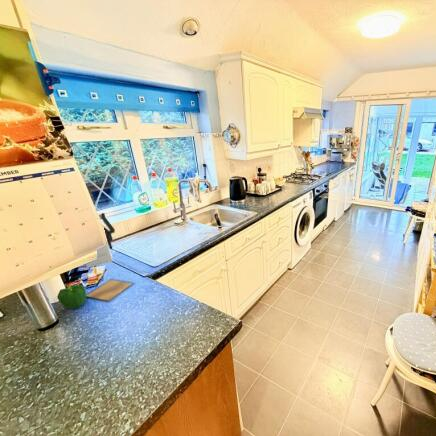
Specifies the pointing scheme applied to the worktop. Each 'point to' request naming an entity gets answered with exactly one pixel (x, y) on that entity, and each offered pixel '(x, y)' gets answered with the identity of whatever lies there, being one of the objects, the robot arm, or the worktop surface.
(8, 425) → the worktop surface
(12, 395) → the worktop surface
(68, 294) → the bell pepper
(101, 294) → the coaster
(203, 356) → the worktop surface
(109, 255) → the white product box
